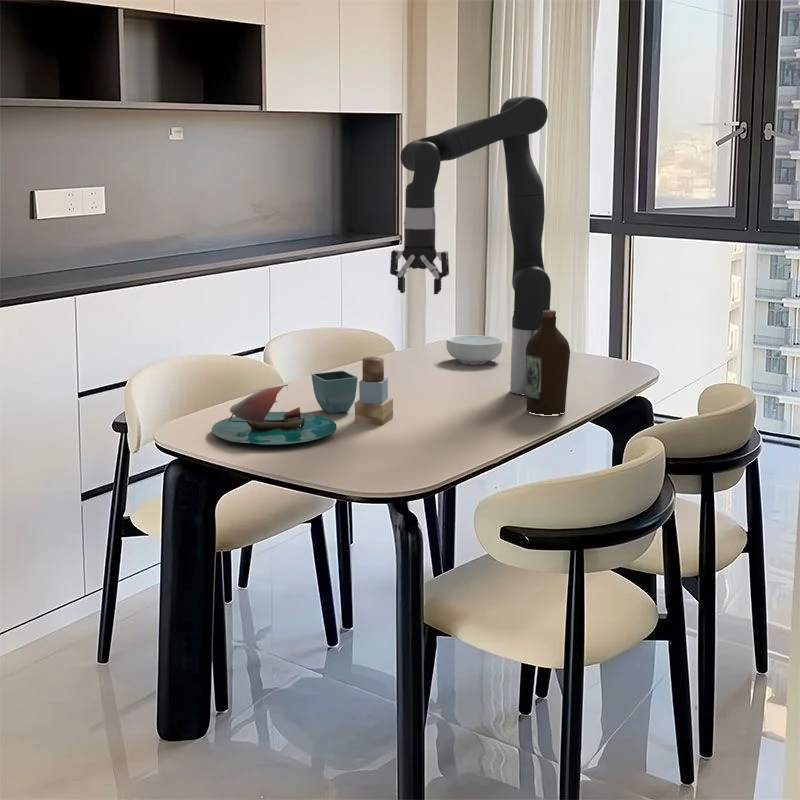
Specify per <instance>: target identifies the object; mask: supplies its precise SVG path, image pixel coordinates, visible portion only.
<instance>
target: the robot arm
mask: <svg viewBox="0 0 800 800" xmlns="http://www.w3.org/2000/svg"><path fill="white" fill-rule="evenodd" d="M548 115H549V114H548V108H547V104H546V103H545V101H543V100H542V99H541V98H539V97H537V96H534V95H524V96H516V97H511V98H507V100H505V101H504V103H503V104H502V105H501V107H500V112H499V113H498V114H494V115H491V116H488V117H484V118H480V119H477V120H473V121H469V122H466V123H463V124H460V125H457V126H454V127H452V128H449V129H447V130H445V131H443V132H440V133H437V134H434V135H430V136H426V137H423V138H418V139H415V140H413V141H410V142H409V143H407V144H406V145H405V146H404V147H403V148H402V150H401V152H400V162H401V164H402V166H403V168H405V169H406V170H408V171H411V172H413V176H412V182H409V183H408V184H407V185H406V188H405V211H404V219H403V220H404V221H403V227H404V228H403V229H404V231H403V235H404V236H403V244H404V245H403V250H398V249H393V250H392V251H390V268H389V273H390V275H392V276H395V277H397V290H398V291H399V293H400V294H404V293H406V276H405V275H406V274H407V273H408V271H409V270H410V269H413V270H415V269H421V270H425V269H428V271H429V273H431V274H432V276H433V277H434V279H433V295H439V293H440V292H441V290H442V279H443V278H445V277H447V276H449V274H450V267H449V266H450V265H449V261H450V259H449V252H448V251H447V250H445V251H437V250H436V211H435V210H436V208H435V202H436V201H435V198H436V197H435V195H436V193H435V191H436V187H437V183H438V179H439V176H440V175H439V174H440V170H441V162H445V161H453V160H456V159H459V158H460V157H463V156H466V155H469V154H470V153H474V152H476V151H477V150H480V149H482V148H485V147H487V146H489V145H492V144H494V143H498V142H500V141H502V144H503V149H504V159H505V161H504V162H505V172H506V185H507V188H506V189H507V205H508V207H507V208H508V216H509V217H508V218H509V220H508V221H509V226H510V233H511V234H510V235H511V239H512V246H513V247H512V248H513V258H512V259H513V261H512V262H513V265H512V278H511V279H512V281H511V285H512V288H513V291H514V298H513V299H514V303H513V315H512V319H511V320H512V321H511V324H512V325H511V354H510V355H511V358H510V384H509V385H510V390H509V391H510V393H512V394H514V393H516V394H515V395H519V394H524V395H523V396H526V347H527V344H528V341H529V340H530V338H531V337H532V336H533V335H534V334H535V333H536V332H537V331H538V330H539V329H540V328H541V326H542V316H543V311H544V310H550V309H551V298H552V297H551V296H552V295H551V294H552V293H551V291H552V284H551V283H552V282H551V279H550V276H549V274H548V273H547V272H546V271H545V266H544V257H543V247H542V239H543V233H544V232H543V231H544V225H545V224H544V222H545V211H546V209H545V208H546V207H545V203H546V202H545V194H544V193H545V188H544V184H543V181H542V178H541V176H540V174H539V171H538V169H537V168H536V165H535V163H534V161H533V159H532V155H531V148H530V134H534V133H537V132H539V131H540V130H542V128H543V127H544V126H545V125H546V123H547V120H548ZM402 257H403V259H404V260H405V263H404V264H403V265H402V266H401V269H400V270H399V269H398V268H399V260H400V259H401V258H402ZM436 258H438V260H439V261H440V263H441V264H440V265H441V271H440V270H439V269H438V266H437V265H436V264H435V262H434V261H435V260H436Z"/></svg>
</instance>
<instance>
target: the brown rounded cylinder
mask: <svg viewBox="0 0 800 800" xmlns="http://www.w3.org/2000/svg"><path fill="white" fill-rule="evenodd" d="M361 362H362V365H361V366H362V368H361V369H362V379H363V381H365V382H381V381H384V378H385V374H384V373H385V365H384V364H385V359H384V357H379V356H366V357H364V358H362V361H361Z"/></svg>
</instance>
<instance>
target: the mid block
mask: <svg viewBox="0 0 800 800" xmlns="http://www.w3.org/2000/svg"><path fill="white" fill-rule="evenodd" d="M388 382H389V378H388V377H384V381H381V382H365V381H363V378H362V379H361V380H360V381H359V385H358V388H359V391H358V392H359V398H358V399H359V400H358V401H359V403H374V404H383V403H384V402H385V401H386V400H387V399H388V398H389V396H388V395H389V394H388V393H389V383H388Z"/></svg>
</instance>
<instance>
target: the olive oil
mask: <svg viewBox="0 0 800 800" xmlns="http://www.w3.org/2000/svg"><path fill="white" fill-rule="evenodd" d="M556 314H557V311H556V310H552V309H551V310H544V311H543V316H542V326H541V328H540V329H539V330H538V331H537V332H536V333H535V334H534V335H533V336H532V337H531V338H530V340H529V341H528V344H527V347H526V395H525V396H526V405H525V406H526V410H527V411H528V412H531V413H535V414H544V415H552V414H560V413H564V412H565V413H566V406H567V389H568V381H569V380H568V379H569V368H570V357H571V348H570V344H569V342H568V339H567V338H566V337H565V335H564V334H562V332H561V331H560V330H559V329H558V327H557V326H556V324H557V316H556ZM526 410H525V411H526ZM527 411H526V412H527ZM565 413H564V414H565Z"/></svg>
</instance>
